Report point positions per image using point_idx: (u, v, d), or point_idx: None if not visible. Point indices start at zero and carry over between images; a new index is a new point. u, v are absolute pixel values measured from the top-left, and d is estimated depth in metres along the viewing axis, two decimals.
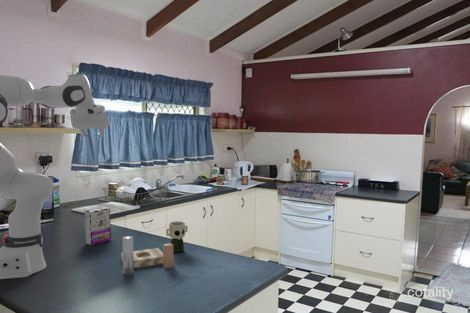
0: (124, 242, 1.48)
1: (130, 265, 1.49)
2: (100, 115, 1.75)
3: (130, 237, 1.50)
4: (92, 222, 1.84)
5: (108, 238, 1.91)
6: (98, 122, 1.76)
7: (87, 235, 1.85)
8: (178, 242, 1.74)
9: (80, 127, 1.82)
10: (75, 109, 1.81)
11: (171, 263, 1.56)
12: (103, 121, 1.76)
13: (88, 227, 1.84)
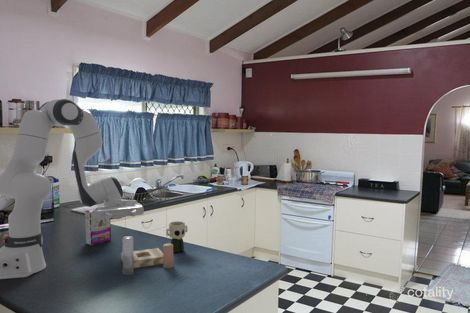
0: (124, 242, 1.48)
1: (130, 265, 1.49)
2: None
3: (130, 237, 1.50)
4: (92, 222, 1.84)
5: (108, 238, 1.91)
6: (135, 206, 1.70)
7: (87, 235, 1.85)
8: (178, 242, 1.74)
9: (108, 209, 1.63)
10: None
11: (171, 263, 1.56)
12: None
13: (88, 227, 1.84)
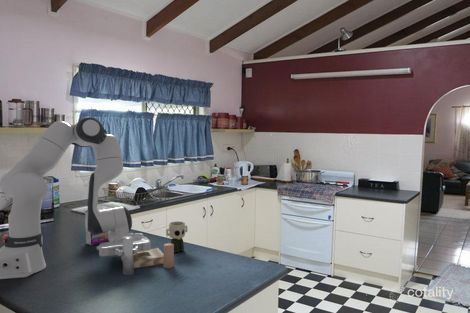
0: (124, 242, 1.48)
1: (130, 265, 1.49)
2: None
3: (130, 237, 1.50)
4: None
5: None
6: (142, 240, 1.59)
7: (87, 235, 1.85)
8: (178, 242, 1.74)
9: (113, 246, 1.52)
10: None
11: (171, 263, 1.56)
12: None
13: None
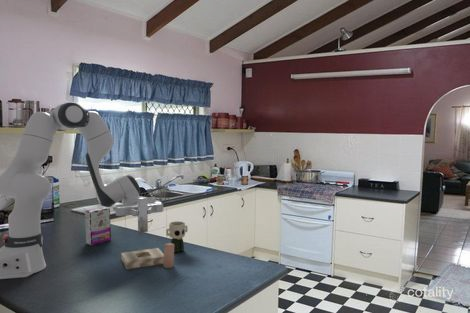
0: (139, 202, 1.59)
1: (144, 224, 1.60)
2: None
3: (144, 198, 1.61)
4: (92, 222, 1.84)
5: (108, 238, 1.91)
6: (155, 203, 1.71)
7: (87, 235, 1.85)
8: (178, 242, 1.74)
9: (129, 206, 1.63)
10: None
11: (172, 262, 1.56)
12: None
13: (88, 227, 1.84)
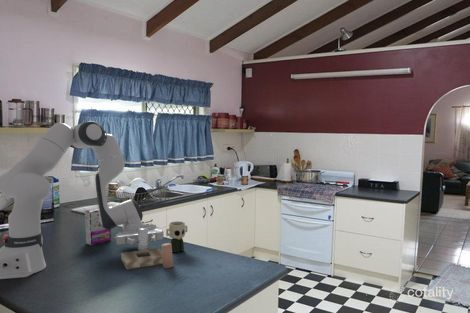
0: (139, 233, 1.60)
1: (145, 254, 1.61)
2: None
3: (145, 228, 1.62)
4: (92, 222, 1.84)
5: (108, 238, 1.91)
6: (155, 230, 1.72)
7: (87, 235, 1.85)
8: (178, 242, 1.74)
9: (129, 235, 1.64)
10: None
11: (172, 261, 1.57)
12: None
13: (88, 227, 1.84)
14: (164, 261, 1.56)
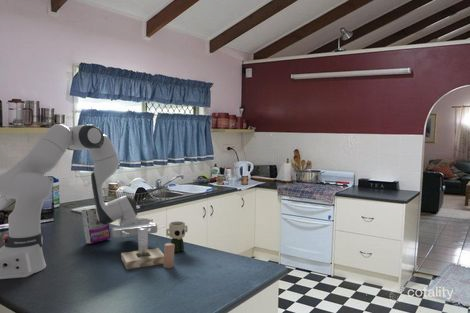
0: (139, 233, 1.60)
1: (145, 254, 1.61)
2: None
3: (145, 228, 1.62)
4: (90, 220, 1.85)
5: (108, 236, 1.91)
6: (150, 224, 1.81)
7: (86, 234, 1.86)
8: (178, 242, 1.74)
9: (125, 228, 1.74)
10: None
11: (173, 262, 1.57)
12: None
13: (86, 225, 1.85)
14: (166, 261, 1.56)
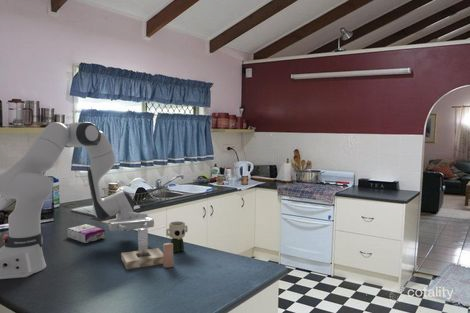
0: (139, 233, 1.60)
1: (145, 254, 1.61)
2: None
3: (145, 228, 1.62)
4: (75, 229, 1.94)
5: (100, 229, 1.94)
6: (146, 218, 1.83)
7: (80, 238, 1.89)
8: (178, 242, 1.74)
9: (122, 222, 1.76)
10: None
11: None
12: None
13: (75, 233, 1.92)
14: (166, 260, 1.56)
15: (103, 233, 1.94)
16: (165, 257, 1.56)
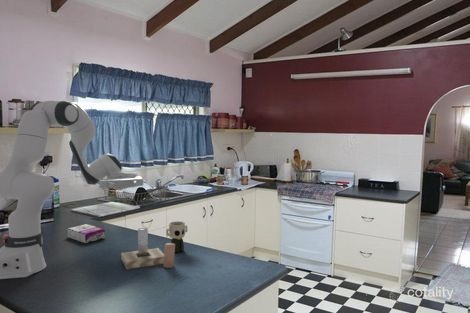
0: (139, 233, 1.60)
1: (145, 254, 1.61)
2: None
3: (145, 228, 1.62)
4: (75, 229, 1.94)
5: (100, 229, 1.94)
6: (136, 177, 1.87)
7: (80, 238, 1.89)
8: (178, 242, 1.74)
9: (111, 180, 1.80)
10: None
11: (173, 261, 1.58)
12: None
13: (75, 233, 1.92)
14: (167, 261, 1.56)
15: (103, 233, 1.94)
16: (167, 257, 1.56)
